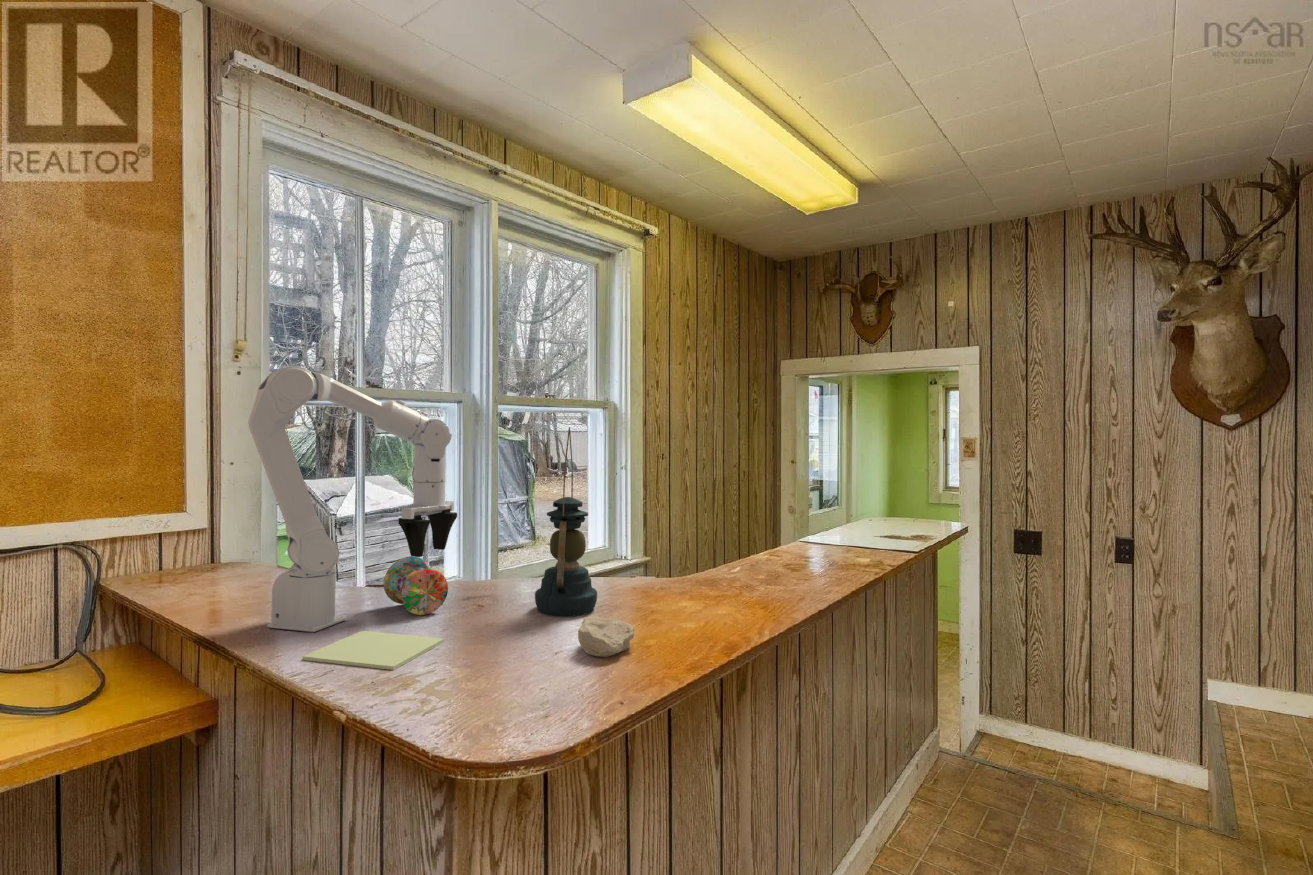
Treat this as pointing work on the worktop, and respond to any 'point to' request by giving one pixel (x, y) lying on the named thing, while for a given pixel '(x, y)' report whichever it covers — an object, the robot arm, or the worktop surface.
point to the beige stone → (604, 635)
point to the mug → (415, 585)
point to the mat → (374, 650)
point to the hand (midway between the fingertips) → (428, 552)
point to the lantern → (566, 562)
